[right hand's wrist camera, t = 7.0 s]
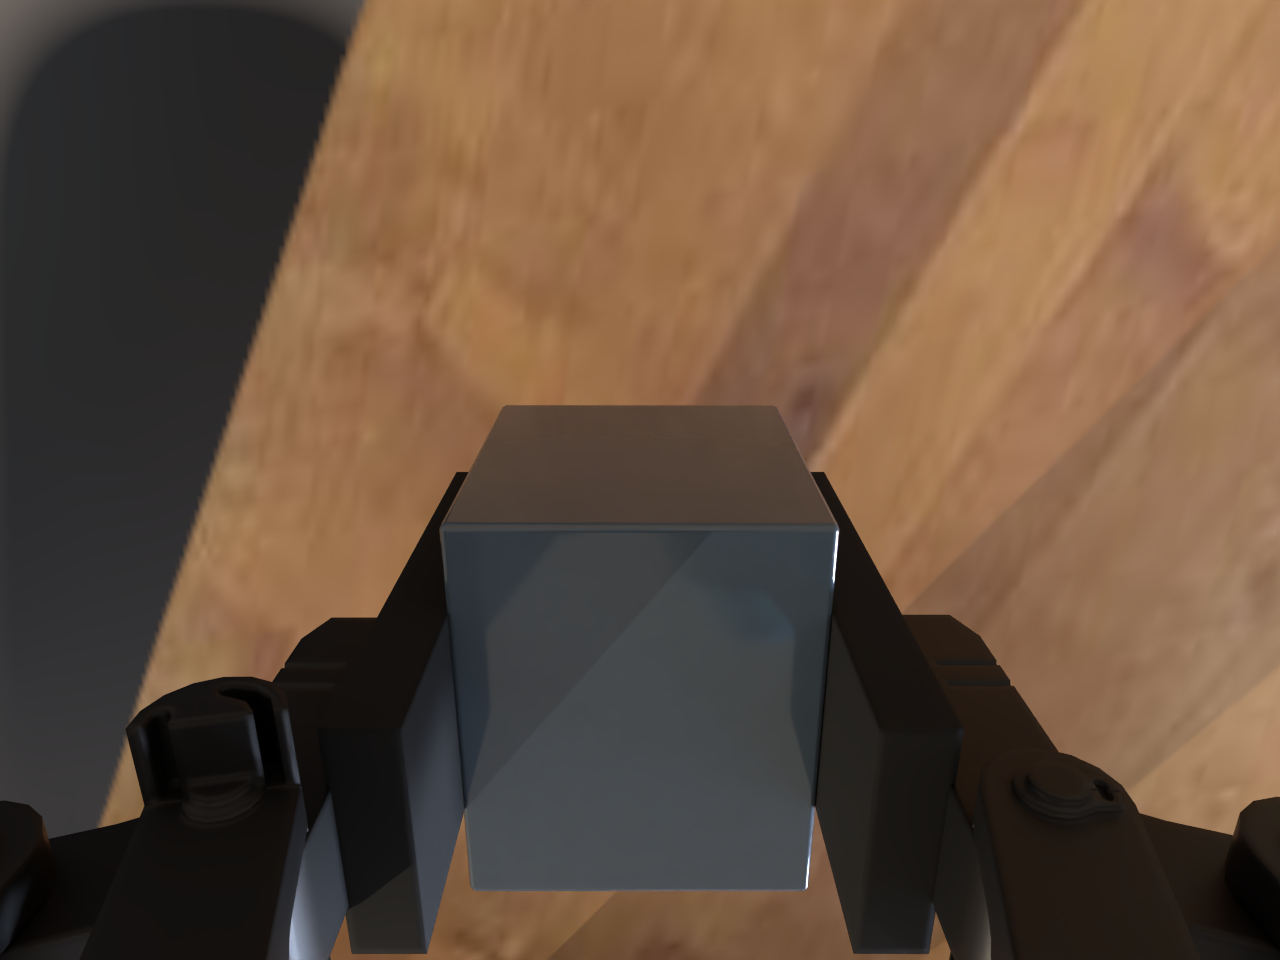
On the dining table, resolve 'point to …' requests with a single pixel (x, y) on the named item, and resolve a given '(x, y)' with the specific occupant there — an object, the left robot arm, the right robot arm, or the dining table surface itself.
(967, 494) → the dining table surface
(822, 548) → the block
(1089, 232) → the dining table surface
